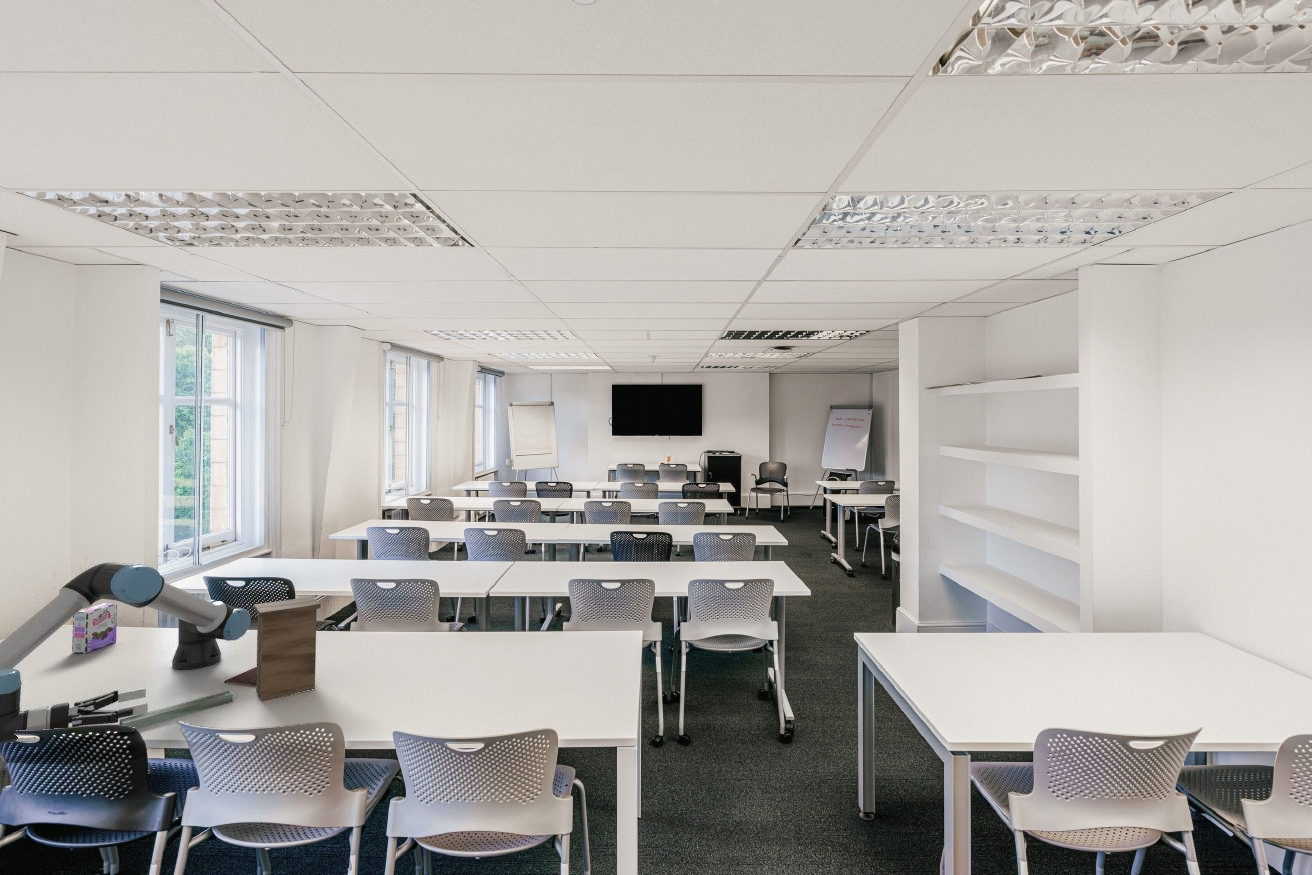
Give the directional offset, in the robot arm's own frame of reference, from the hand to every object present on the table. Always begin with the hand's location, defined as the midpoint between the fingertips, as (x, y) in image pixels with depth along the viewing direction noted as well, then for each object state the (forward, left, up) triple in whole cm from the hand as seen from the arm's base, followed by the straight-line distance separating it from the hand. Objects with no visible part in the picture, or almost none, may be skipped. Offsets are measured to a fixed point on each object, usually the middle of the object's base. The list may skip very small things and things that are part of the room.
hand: (146, 699), depth 190 cm
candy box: (-92, -14, -7) cm, 94 cm away
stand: (0, +37, -7) cm, 38 cm away
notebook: (-20, +34, -8) cm, 41 cm away
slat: (0, +8, -7) cm, 11 cm away
